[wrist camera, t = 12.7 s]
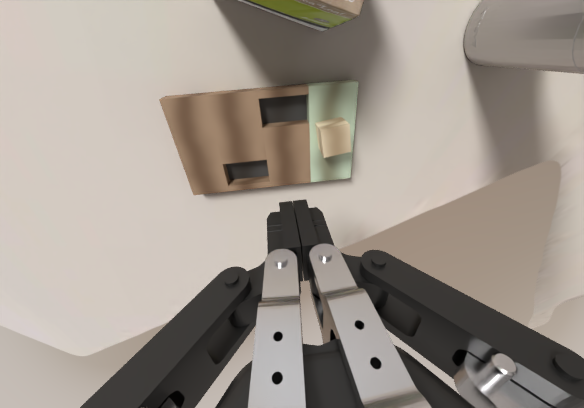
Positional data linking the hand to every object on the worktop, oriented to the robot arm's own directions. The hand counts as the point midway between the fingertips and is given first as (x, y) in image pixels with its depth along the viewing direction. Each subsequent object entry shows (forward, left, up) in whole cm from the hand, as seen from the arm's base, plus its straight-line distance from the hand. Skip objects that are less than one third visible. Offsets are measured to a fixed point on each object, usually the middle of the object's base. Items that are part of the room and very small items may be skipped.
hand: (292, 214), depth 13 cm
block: (-8, +4, -24) cm, 26 cm away
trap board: (+1, +4, -27) cm, 27 cm away
